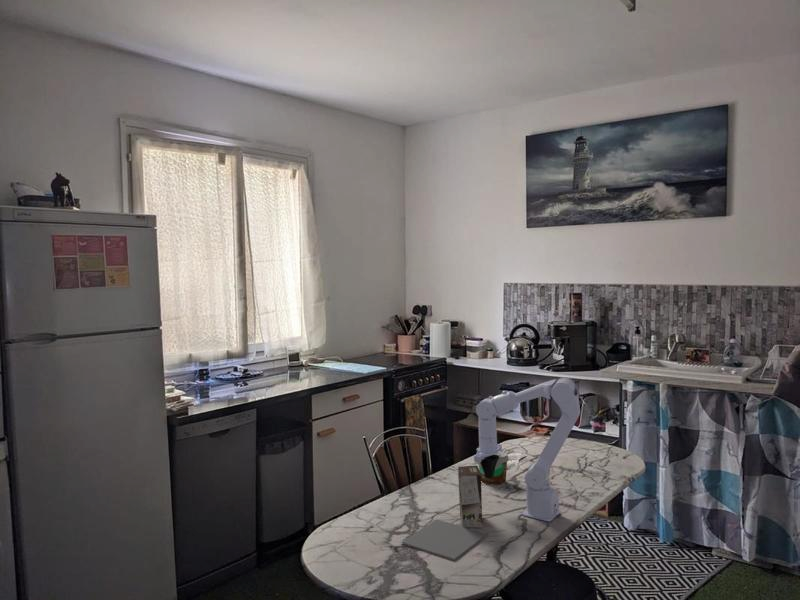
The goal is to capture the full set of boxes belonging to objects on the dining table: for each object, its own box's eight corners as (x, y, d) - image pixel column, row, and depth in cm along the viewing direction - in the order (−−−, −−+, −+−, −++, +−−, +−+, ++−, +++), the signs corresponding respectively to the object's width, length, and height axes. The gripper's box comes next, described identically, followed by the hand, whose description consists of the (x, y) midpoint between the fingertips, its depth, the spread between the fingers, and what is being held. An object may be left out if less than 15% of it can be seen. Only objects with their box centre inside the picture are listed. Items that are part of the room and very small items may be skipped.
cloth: (513, 451, 250) (512, 446, 250) (541, 458, 241) (541, 452, 241) (475, 468, 232) (474, 462, 232) (504, 475, 222) (503, 469, 222)
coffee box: (483, 527, 178) (481, 475, 177) (461, 528, 178) (459, 475, 177) (479, 515, 187) (478, 464, 186) (459, 515, 187) (457, 465, 186)
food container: (471, 483, 214) (470, 456, 214) (477, 477, 220) (476, 451, 219) (504, 487, 209) (503, 459, 208) (509, 481, 214) (508, 454, 214)
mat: (487, 535, 172) (487, 533, 172) (454, 561, 158) (454, 558, 158) (436, 521, 184) (436, 519, 183) (401, 544, 169) (401, 542, 169)
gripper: (488, 429, 199) (489, 469, 199) (465, 440, 187) (466, 482, 188) (507, 432, 194) (508, 472, 195) (484, 443, 183) (486, 486, 184)
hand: (489, 477), depth 191 cm, fingers closed
